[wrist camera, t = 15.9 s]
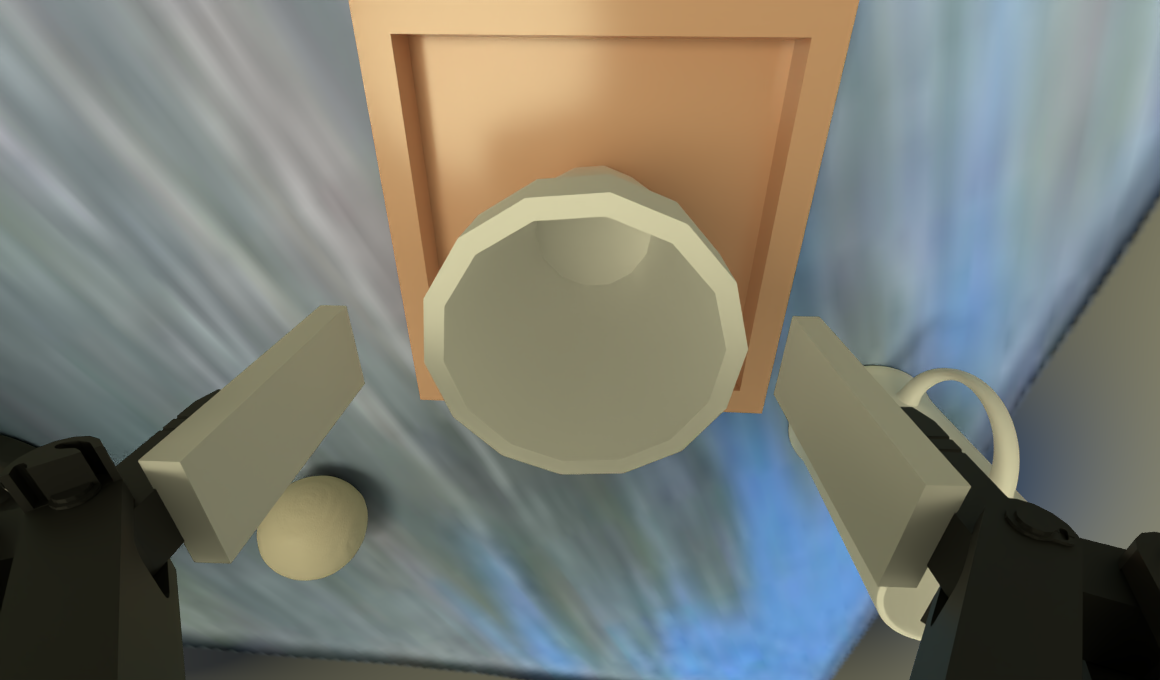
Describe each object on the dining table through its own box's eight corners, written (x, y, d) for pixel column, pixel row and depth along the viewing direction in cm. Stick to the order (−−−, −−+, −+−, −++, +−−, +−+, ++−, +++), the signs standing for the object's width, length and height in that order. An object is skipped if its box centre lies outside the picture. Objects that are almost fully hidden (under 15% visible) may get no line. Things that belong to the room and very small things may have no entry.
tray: (748, 384, 31) (761, 413, 28) (436, 372, 32) (420, 399, 29) (830, 0, 21) (861, -9, 19) (377, -2, 22) (346, -11, 20)
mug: (844, 304, 28) (983, 445, 18) (985, 332, 29) (1203, 487, 18) (767, 456, 34) (838, 631, 23) (886, 478, 34) (1007, 660, 24)
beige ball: (299, 518, 40) (245, 596, 34) (288, 450, 36) (226, 524, 30) (383, 531, 40) (344, 611, 34) (380, 465, 36) (336, 542, 30)
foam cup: (634, 91, 23) (660, 117, 11) (714, 259, 26) (794, 407, 15) (468, 195, 25) (354, 301, 14) (562, 334, 29) (531, 508, 18)
